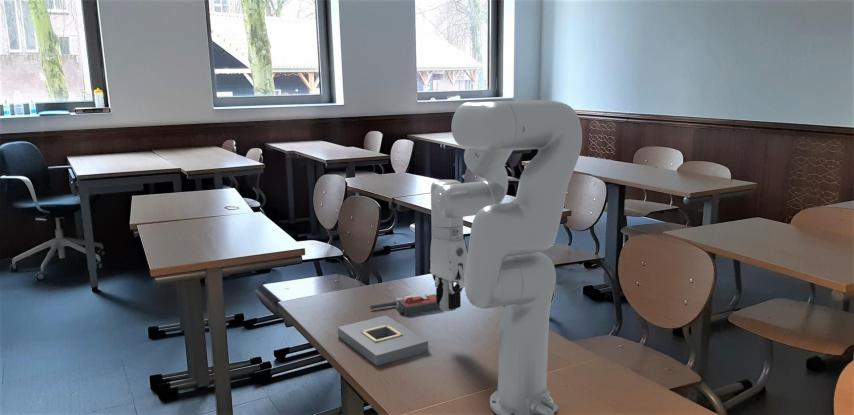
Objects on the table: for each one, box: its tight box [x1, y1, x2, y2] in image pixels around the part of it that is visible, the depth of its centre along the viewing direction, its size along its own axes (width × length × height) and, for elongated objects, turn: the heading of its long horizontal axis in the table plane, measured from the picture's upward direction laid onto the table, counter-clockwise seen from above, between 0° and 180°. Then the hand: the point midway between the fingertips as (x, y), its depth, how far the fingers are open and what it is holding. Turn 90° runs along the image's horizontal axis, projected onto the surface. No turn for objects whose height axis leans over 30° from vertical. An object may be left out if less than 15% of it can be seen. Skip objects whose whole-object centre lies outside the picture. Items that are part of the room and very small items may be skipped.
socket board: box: [337, 315, 429, 366], centre depth 156 cm, size 20×14×3 cm
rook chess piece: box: [439, 278, 458, 312], centre depth 154 cm, size 4×4×8 cm
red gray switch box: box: [369, 293, 442, 316], centre depth 179 cm, size 9×4×20 cm
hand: (448, 304), depth 155 cm, fingers closed on rook chess piece, 4 cm apart
